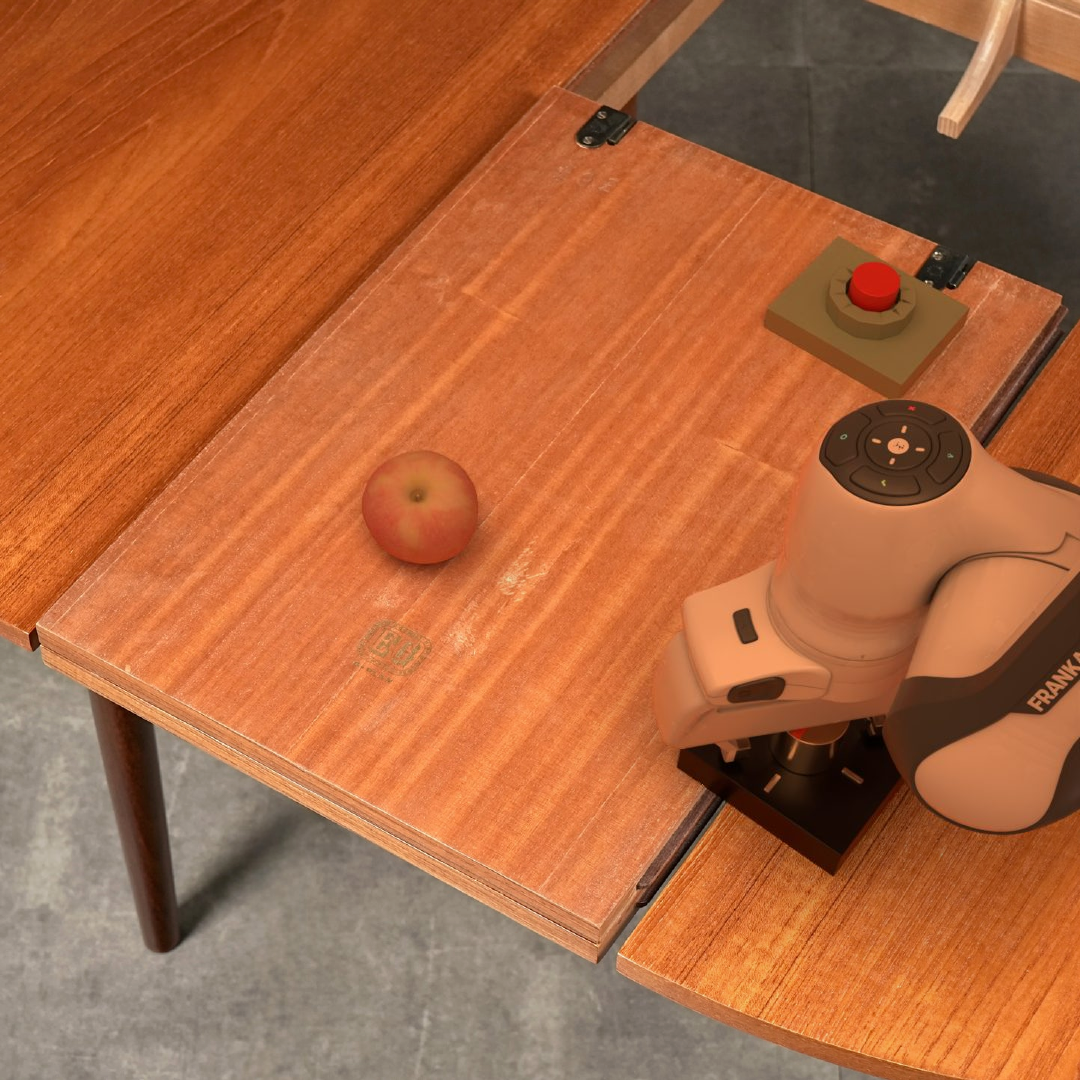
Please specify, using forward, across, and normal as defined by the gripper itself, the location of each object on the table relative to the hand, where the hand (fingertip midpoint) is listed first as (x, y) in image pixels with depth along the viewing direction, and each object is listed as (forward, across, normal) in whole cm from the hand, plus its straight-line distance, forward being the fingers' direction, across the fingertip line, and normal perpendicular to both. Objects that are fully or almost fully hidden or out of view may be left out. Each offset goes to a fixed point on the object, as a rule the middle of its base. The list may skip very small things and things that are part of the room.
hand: (805, 738), depth 106 cm
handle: (+1, 0, 0) cm, 1 cm away
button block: (+4, -16, -36) cm, 39 cm away
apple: (+4, +21, -22) cm, 30 cm away
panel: (+4, 0, 0) cm, 4 cm away
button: (0, -16, -36) cm, 39 cm away
